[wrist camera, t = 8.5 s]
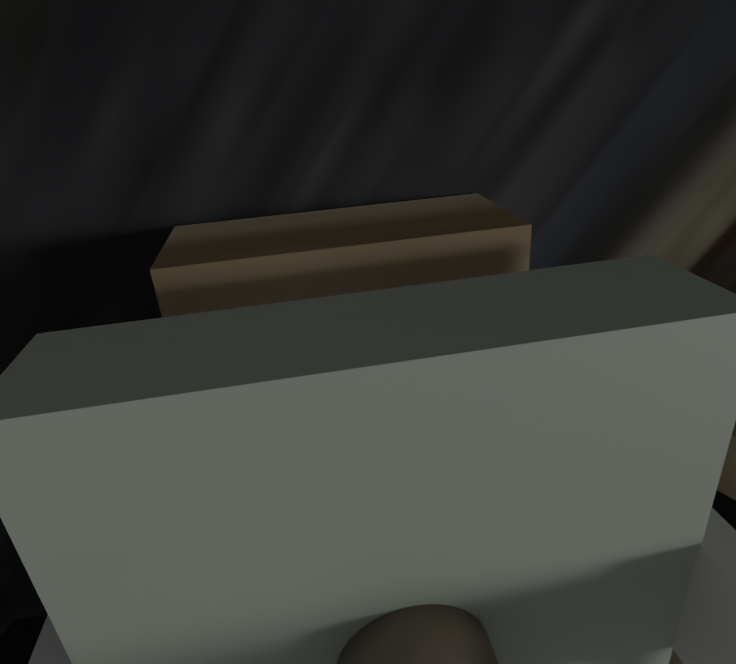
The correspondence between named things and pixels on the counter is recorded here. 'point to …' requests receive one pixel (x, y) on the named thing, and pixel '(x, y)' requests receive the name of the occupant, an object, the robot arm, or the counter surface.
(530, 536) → the lid
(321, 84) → the counter surface
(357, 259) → the stand
